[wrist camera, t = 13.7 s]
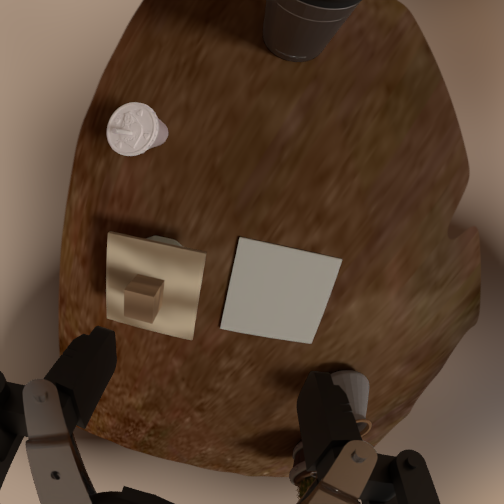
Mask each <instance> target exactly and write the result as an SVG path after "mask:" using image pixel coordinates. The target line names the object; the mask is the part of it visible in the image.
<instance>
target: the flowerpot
mask: <svg viewBox="0 0 504 504" xmlns="http://www.w3.org/2000/svg"><path fill="white" fill-rule="evenodd" d="M293 459H294V465H293V468H292V470H291V471H290V474H289V478H290V481H291V483H292V484H294V485H295V486H298V487H299V488H300V489H299V491H298V492H300V493H299V494H300V495H299V497H300V499H301V497H302V496H303V495H304V493H305V492H306V491H307V489H308V488H309V487H310V485H311V484H312V483H313V481H314V480H315V479H316V477H313V476H316V474H317V473H311V472H317V471H307V470H306V463H305V457H304V450H303V444H302V440H301V441H300V442H299V443H298V444H297V445H296V446H295V448H294V450H293ZM310 473H311V475H313V476H311V475H310ZM297 490H298V489H297ZM300 499H299V500H300Z"/></svg>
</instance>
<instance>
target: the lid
mask: <svg viewBox="0 0 504 504" xmlns="http://www.w3.org/2000/svg"><path fill="white" fill-rule="evenodd" d="M206 253H207V252H206V251H201V250H196V249H191V248H187V247H182V246H177V245H172V244H168V243H163V242H158V241H154V240H149V239H144V238H140V237H135V236H130V235H126V234H121V233H116V232H112V231H110V232H108V239H107V265H106V304H107V318H108V319H111V320H115V321H118V322H121V323H125V324H128V325H132V326H136V327H139V328H143V329H147V330H151V331H155V332H159V333H163V334H167V335H171V336H175V337H180V338H184V339H188V340H192V339H193V333H194V326H195V320H196V313H197V307H198V300H199V294H200V288H201V282H202V276H203V270H204V264H205V258H206Z"/></svg>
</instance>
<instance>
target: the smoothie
mask: <svg viewBox="0 0 504 504" xmlns="http://www.w3.org/2000/svg"><path fill="white" fill-rule="evenodd" d="M167 137H168V129H167V126H166V125H165V124H164V123H163V122H162V121H161V120H160V119H159V118H157V115H156V114H155V112H154V111H153V109H152V108H150V107H149V106H148V105H145V104H143V103H137V102H132V103H127V104H125V105H123V106H121V107H119V108H118V109H117V110H116V111H115V112H114V113H113V114H112V116H111V118H110V120H109V122H108V125H107V139H108V142H109V144H110V146H111V147H112V149H113V150H114V151H116V152H117V153H119V154H121V155H125V156H135V155H139V154H141V153H143V152H145V151H146V150H147V149H149V148H153V147H156V146H159V145H161V144H163V143H164V142H165V141H166V139H167Z"/></svg>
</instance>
